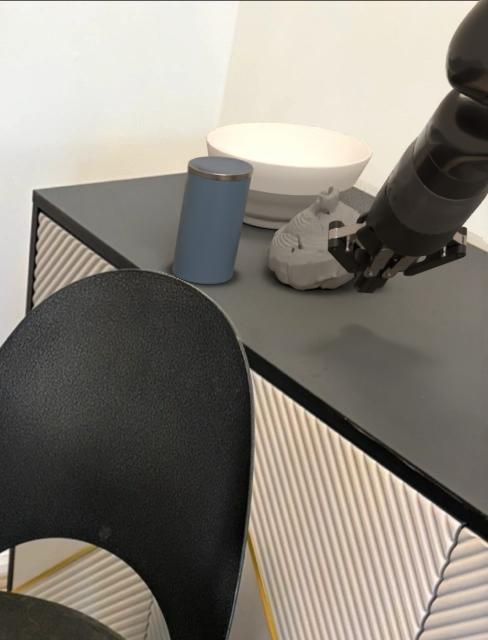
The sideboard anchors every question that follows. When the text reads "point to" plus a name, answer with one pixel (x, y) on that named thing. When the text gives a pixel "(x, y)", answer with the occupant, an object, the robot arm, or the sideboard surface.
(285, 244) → the grey clay mound
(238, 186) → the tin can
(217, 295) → the sideboard surface
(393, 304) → the sideboard surface
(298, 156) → the bowl
